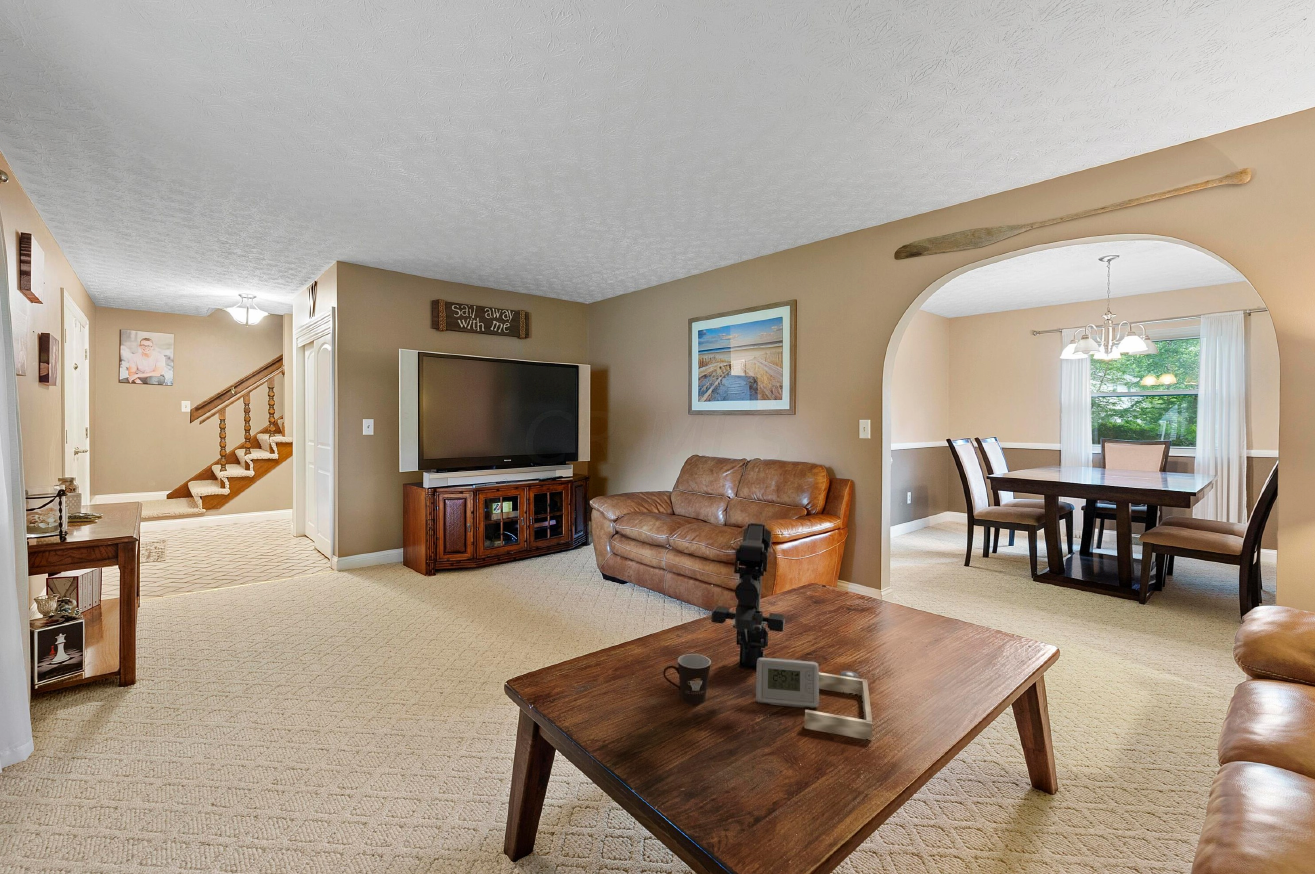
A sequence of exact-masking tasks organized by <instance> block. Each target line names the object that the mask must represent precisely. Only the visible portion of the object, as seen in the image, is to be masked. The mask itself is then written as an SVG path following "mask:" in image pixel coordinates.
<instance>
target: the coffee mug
mask: <svg viewBox="0 0 1315 874" xmlns="http://www.w3.org/2000/svg"><path fill="white" fill-rule="evenodd" d="M711 665H712V660H711V659H710V658H709V657H707V656H705V655H702V654H697V653H687V654H683V655H681V656H679V657H678V658H677V666H678V667H677V666H675V665H667V666H666V667H664V669H663V672H662V675H663V677H664V680H666V681H667V682H668V683H669V684H671V685H673V686H674V687H675V688H677V689H678V690H679V693H680V700H681V701H682V702H683V703H685V704H687V705H694V706H696V705H697V706H698V705H701V704H703V703H704V702H705V700H706V695H707V689H708V683H709V677H710V671H711ZM669 669H674V670H675V671H676V673H677V674H678V679H679V681H678V682H679V685H678V684H676V683H675V682H673V681H672V680H670V679H669V678H668V676H666V672H667V670H669Z"/></svg>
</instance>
